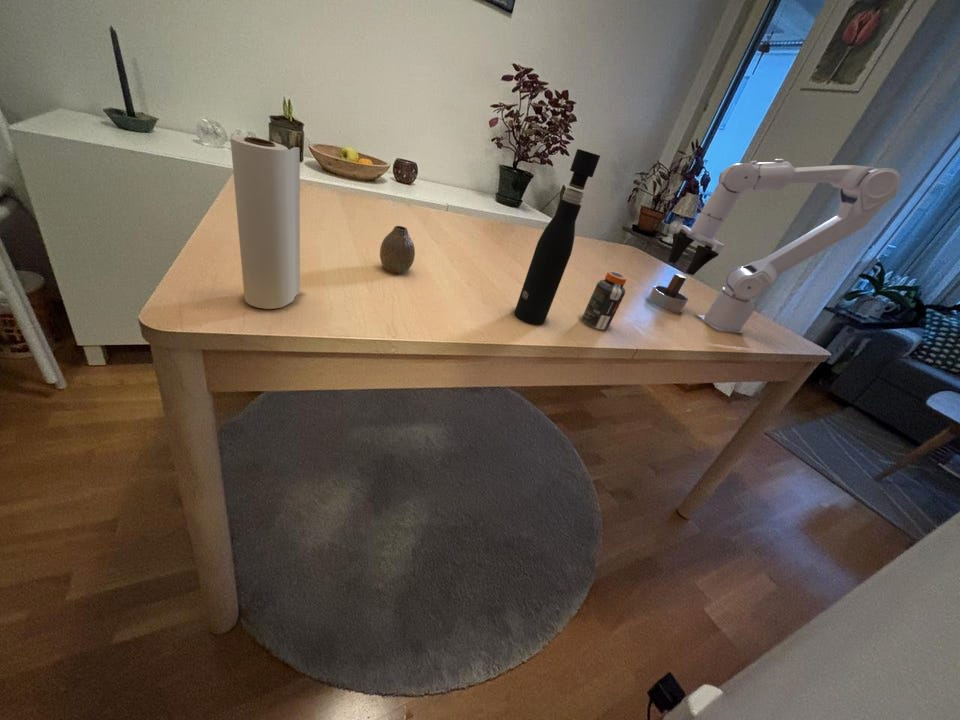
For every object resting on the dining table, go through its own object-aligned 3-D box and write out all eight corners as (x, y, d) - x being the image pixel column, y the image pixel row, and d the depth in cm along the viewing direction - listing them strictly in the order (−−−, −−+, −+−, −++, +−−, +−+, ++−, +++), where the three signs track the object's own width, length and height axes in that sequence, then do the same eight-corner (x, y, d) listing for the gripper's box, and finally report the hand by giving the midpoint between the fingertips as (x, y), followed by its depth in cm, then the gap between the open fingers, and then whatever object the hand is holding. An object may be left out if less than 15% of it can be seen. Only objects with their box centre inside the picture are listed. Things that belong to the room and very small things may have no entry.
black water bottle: (548, 318, 78) (610, 158, 62) (539, 328, 73) (605, 157, 57) (520, 306, 79) (574, 147, 64) (509, 315, 74) (565, 145, 58)
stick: (665, 303, 107) (681, 274, 102) (670, 306, 105) (686, 278, 100) (659, 302, 106) (674, 273, 101) (663, 305, 104) (680, 276, 100)
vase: (418, 273, 80) (425, 232, 76) (396, 279, 75) (402, 235, 70) (394, 261, 83) (399, 220, 78) (370, 265, 77) (375, 222, 73)
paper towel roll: (241, 308, 53) (225, 137, 42) (247, 289, 58) (234, 131, 46) (298, 312, 56) (297, 153, 45) (299, 294, 61) (299, 145, 49)
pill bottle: (609, 333, 79) (634, 283, 73) (582, 324, 79) (604, 274, 74) (606, 322, 84) (629, 274, 78) (581, 313, 85) (602, 265, 79)
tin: (666, 300, 111) (673, 288, 109) (687, 316, 103) (695, 302, 101) (640, 296, 108) (647, 283, 106) (660, 311, 100) (668, 298, 98)
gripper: (681, 204, 97) (652, 254, 104) (721, 221, 86) (686, 276, 93) (701, 211, 99) (672, 259, 106) (743, 229, 88) (707, 282, 95)
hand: (680, 268), depth 100 cm, fingers open, 7 cm apart
